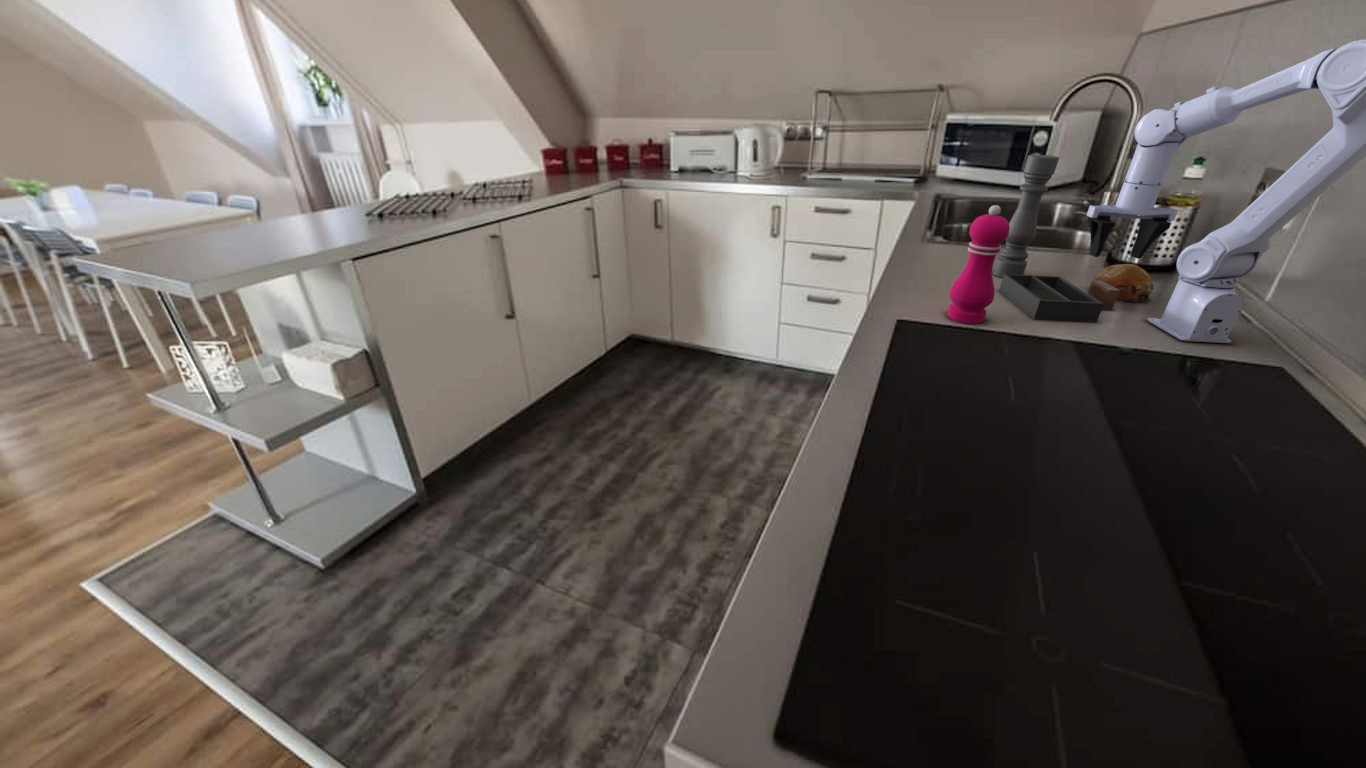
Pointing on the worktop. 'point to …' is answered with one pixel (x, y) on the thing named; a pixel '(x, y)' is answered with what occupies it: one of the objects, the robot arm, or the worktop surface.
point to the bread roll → (1127, 281)
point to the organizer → (1050, 298)
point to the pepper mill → (978, 269)
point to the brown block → (1103, 293)
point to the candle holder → (1025, 215)
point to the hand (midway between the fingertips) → (1114, 256)
